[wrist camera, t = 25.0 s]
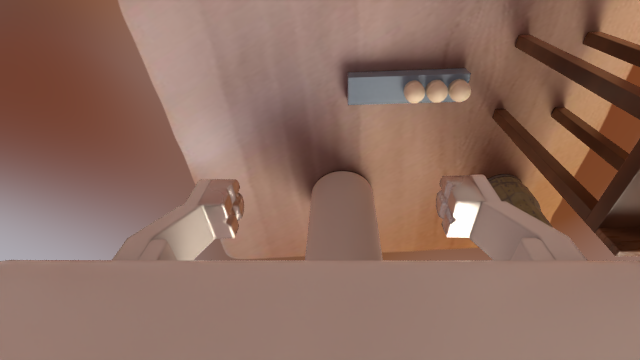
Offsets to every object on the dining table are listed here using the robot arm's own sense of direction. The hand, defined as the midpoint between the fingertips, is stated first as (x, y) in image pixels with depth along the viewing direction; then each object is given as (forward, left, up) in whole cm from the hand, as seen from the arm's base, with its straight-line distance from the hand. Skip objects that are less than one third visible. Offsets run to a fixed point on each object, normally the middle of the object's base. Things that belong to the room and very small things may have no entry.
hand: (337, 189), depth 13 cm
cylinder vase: (+32, +9, -39) cm, 51 cm away
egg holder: (+7, +13, -39) cm, 42 cm away
